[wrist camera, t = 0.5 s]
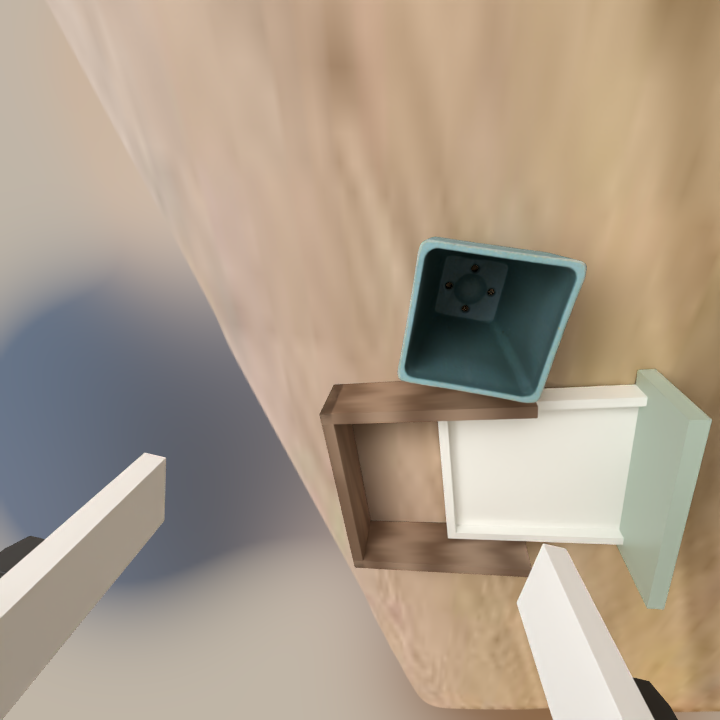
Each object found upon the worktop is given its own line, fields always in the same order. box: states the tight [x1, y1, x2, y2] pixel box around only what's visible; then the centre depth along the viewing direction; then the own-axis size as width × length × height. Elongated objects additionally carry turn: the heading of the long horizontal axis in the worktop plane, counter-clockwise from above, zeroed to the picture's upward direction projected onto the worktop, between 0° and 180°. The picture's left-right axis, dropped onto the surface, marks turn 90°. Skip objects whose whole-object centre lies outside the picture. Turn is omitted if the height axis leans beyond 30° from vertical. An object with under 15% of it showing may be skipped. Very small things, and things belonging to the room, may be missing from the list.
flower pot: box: [398, 237, 587, 403], centre depth 26 cm, size 9×9×9 cm
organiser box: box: [320, 381, 538, 577], centre depth 36 cm, size 17×18×5 cm
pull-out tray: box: [438, 369, 712, 609], centre depth 33 cm, size 17×18×7 cm
